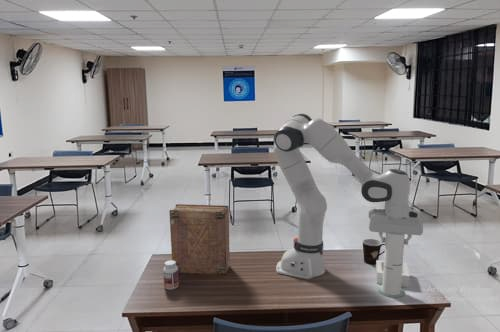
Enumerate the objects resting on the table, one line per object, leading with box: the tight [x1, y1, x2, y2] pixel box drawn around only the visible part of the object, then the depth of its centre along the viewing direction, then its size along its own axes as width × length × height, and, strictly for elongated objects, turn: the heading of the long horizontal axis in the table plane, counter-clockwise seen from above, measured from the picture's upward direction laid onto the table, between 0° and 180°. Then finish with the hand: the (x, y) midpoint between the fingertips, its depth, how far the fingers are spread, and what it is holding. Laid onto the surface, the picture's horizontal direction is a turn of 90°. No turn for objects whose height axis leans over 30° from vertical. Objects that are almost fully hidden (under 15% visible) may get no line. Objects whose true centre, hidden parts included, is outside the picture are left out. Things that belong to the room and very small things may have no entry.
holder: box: [375, 259, 411, 288], centre depth 174 cm, size 13×13×5 cm
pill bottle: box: [162, 259, 180, 291], centre depth 168 cm, size 6×6×11 cm
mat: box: [378, 284, 405, 298], centre depth 163 cm, size 10×10×1 cm
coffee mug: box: [362, 238, 385, 266], centre depth 190 cm, size 12×9×10 cm
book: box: [169, 203, 231, 276], centre depth 182 cm, size 25×9×30 cm, turn 82°
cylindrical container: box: [381, 233, 406, 295], centre depth 160 cm, size 7×7×25 cm
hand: (394, 243), depth 159 cm, fingers closed on cylindrical container, 7 cm apart
